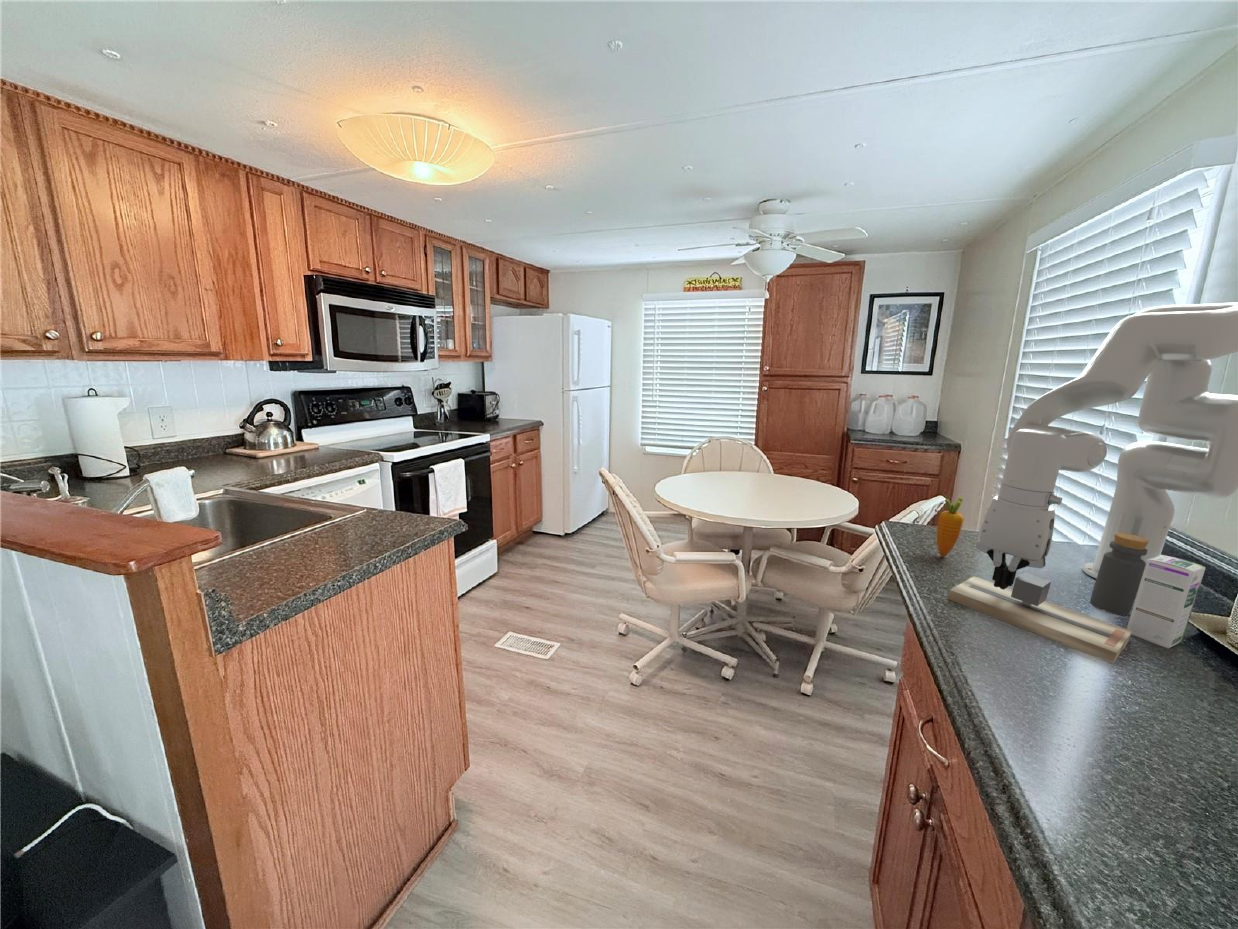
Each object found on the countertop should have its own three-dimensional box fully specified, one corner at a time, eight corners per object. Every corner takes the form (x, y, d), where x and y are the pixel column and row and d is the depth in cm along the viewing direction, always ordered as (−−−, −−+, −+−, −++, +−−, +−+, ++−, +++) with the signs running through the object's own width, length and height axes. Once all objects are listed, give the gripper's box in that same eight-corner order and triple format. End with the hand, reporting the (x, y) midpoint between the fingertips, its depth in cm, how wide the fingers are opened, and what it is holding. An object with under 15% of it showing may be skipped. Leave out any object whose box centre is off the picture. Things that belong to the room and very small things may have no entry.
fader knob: (1018, 596, 95) (1024, 572, 94) (1044, 605, 92) (1051, 580, 91) (1009, 602, 92) (1015, 578, 91) (1035, 612, 89) (1042, 587, 88)
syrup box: (1169, 650, 84) (1197, 571, 80) (1123, 631, 89) (1147, 557, 85) (1181, 642, 86) (1209, 566, 83) (1135, 625, 91) (1159, 552, 88)
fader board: (971, 584, 104) (974, 575, 104) (1129, 641, 86) (1132, 630, 85) (947, 598, 98) (949, 589, 97) (1112, 663, 79) (1116, 652, 78)
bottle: (1138, 617, 94) (1162, 544, 91) (1103, 612, 95) (1125, 540, 92) (1115, 602, 100) (1137, 533, 96) (1082, 598, 101) (1102, 529, 97)
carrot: (933, 558, 117) (945, 498, 114) (929, 551, 122) (941, 493, 118) (957, 563, 115) (971, 502, 112) (952, 555, 120) (965, 496, 116)
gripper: (1083, 504, 87) (1056, 598, 91) (985, 483, 99) (965, 567, 103) (1070, 511, 83) (1043, 609, 87) (970, 488, 95) (950, 575, 99)
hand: (1001, 586), depth 95 cm, fingers closed
